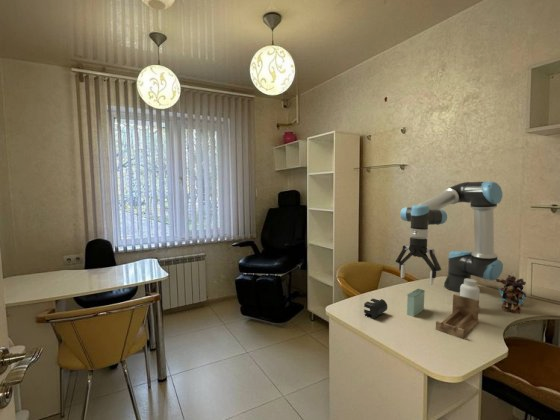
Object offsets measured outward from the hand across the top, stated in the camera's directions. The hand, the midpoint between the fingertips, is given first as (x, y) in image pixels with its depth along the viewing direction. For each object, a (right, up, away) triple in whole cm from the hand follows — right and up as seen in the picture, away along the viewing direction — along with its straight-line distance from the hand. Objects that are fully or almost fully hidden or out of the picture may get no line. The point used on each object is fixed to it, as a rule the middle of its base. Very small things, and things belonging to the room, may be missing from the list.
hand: (416, 280), depth 134 cm
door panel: (0, -16, +1) cm, 16 cm away
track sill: (+12, -17, -12) cm, 24 cm away
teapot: (+56, -15, +13) cm, 60 cm away
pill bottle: (+29, -16, +5) cm, 33 cm away
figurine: (+48, -16, +4) cm, 51 cm away
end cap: (-21, -16, -2) cm, 26 cm away
